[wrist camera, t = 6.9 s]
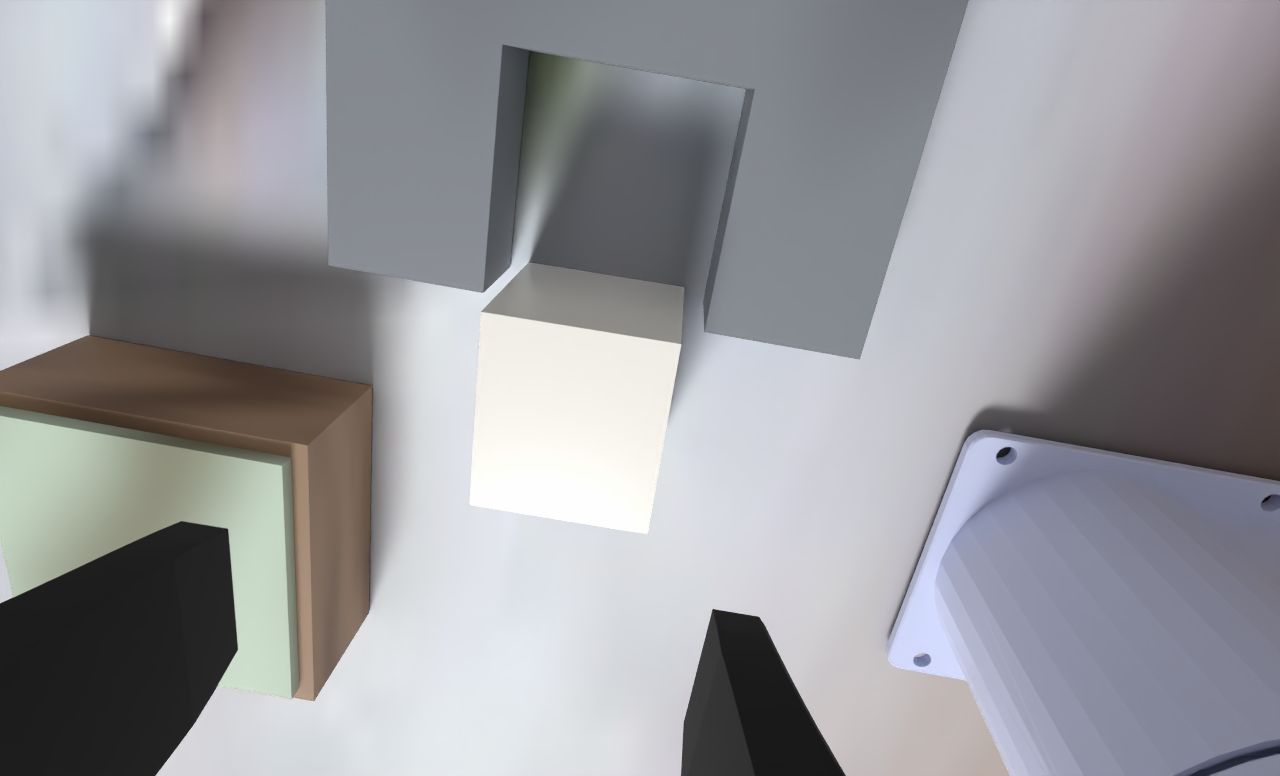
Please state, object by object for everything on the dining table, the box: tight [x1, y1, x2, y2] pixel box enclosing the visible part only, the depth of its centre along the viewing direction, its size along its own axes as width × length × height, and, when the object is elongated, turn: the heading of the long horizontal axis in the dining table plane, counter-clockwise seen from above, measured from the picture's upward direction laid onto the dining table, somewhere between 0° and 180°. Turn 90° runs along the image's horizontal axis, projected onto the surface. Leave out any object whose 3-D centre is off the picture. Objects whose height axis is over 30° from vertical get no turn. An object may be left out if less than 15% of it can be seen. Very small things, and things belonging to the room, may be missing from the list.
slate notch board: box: [326, 0, 968, 359], centre depth 15 cm, size 12×12×2 cm
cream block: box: [469, 262, 685, 534], centre depth 17 cm, size 4×4×4 cm
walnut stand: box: [0, 336, 372, 701], centre depth 20 cm, size 8×8×4 cm
